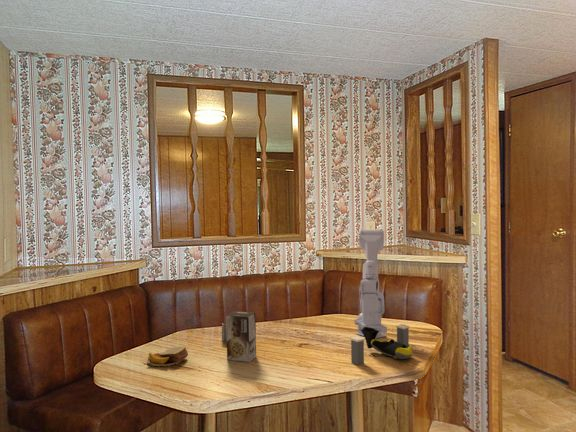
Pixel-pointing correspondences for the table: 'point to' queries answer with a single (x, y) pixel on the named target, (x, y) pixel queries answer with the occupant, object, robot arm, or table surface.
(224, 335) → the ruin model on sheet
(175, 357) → the toy sandwich meal
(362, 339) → the posts
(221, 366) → the table surface
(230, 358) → the coffee box
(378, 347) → the black yellow sneaker
